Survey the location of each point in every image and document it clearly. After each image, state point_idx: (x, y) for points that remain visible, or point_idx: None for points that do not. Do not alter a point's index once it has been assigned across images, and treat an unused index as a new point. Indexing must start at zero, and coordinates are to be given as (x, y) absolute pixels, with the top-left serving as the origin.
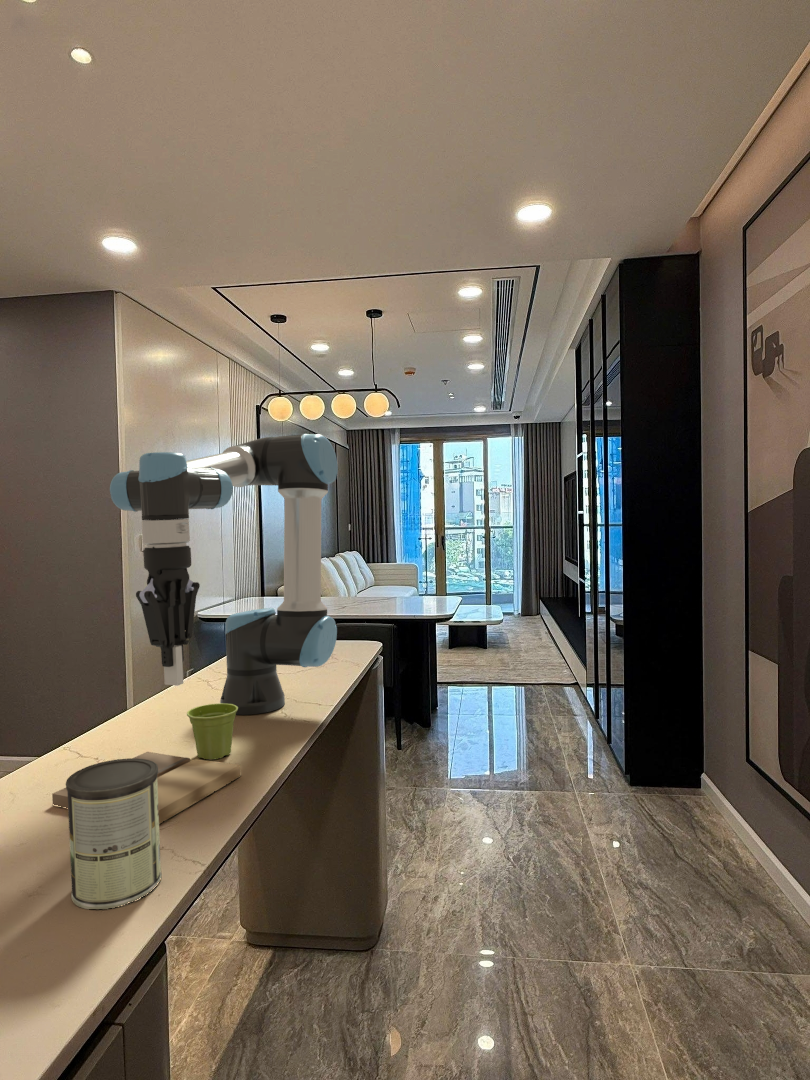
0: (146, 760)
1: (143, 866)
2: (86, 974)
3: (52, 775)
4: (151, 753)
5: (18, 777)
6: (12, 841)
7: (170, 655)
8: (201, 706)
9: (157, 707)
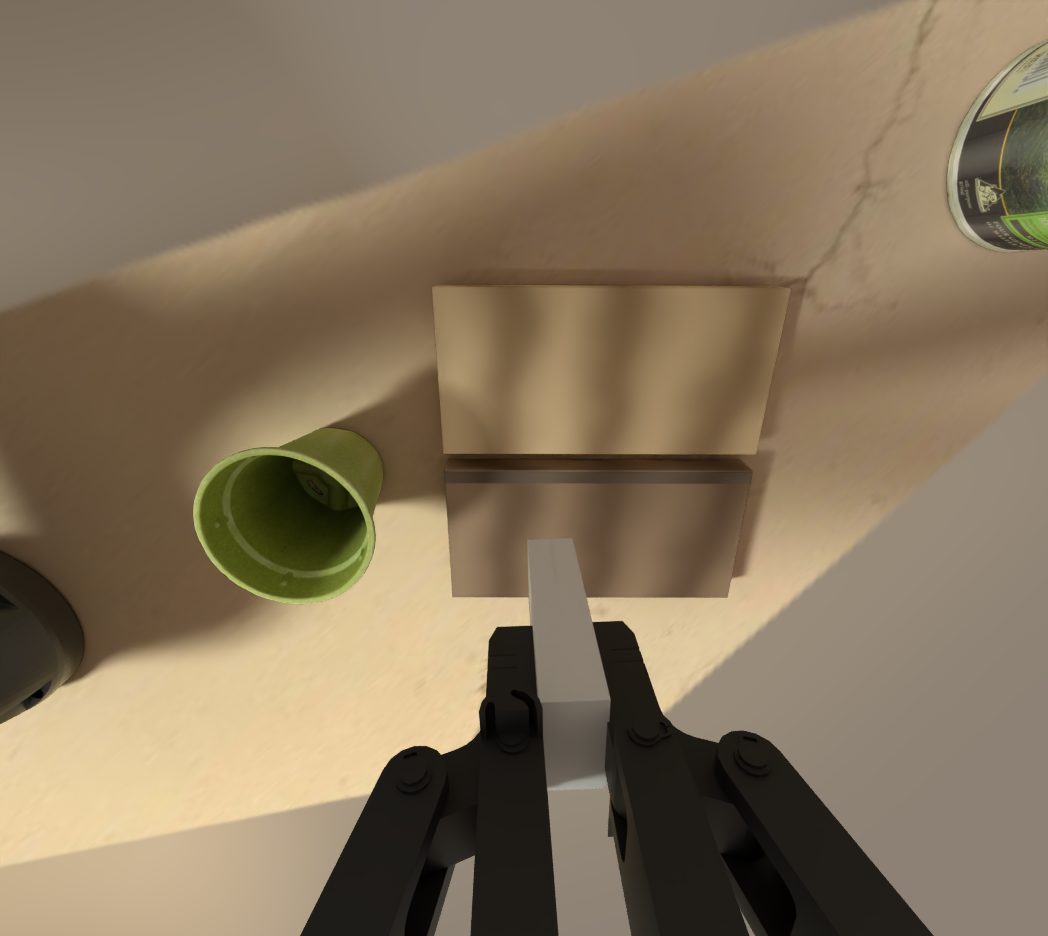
0: None
1: None
2: None
3: None
4: (458, 579)
5: None
6: (868, 524)
7: (624, 674)
8: (269, 594)
9: (168, 801)
